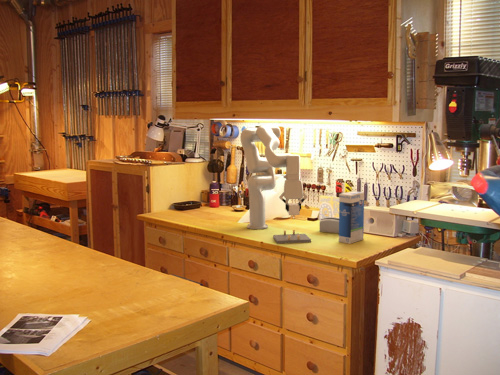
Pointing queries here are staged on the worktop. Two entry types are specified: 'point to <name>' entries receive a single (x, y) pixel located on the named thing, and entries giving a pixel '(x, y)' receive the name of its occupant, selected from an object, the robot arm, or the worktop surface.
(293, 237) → the gray peg board
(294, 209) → the block
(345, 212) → the string lights box
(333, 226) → the grey rounded block
